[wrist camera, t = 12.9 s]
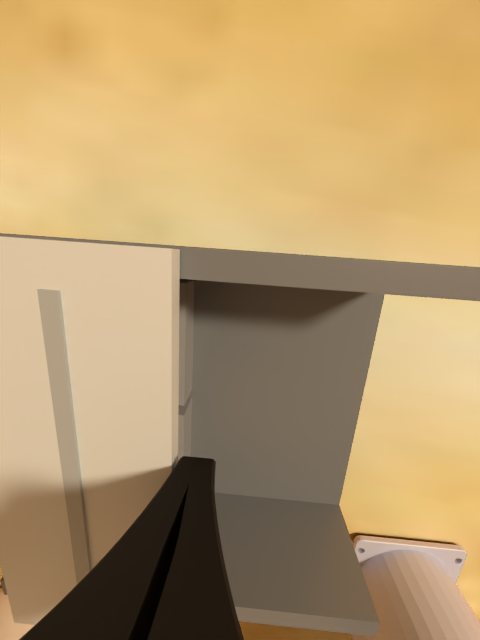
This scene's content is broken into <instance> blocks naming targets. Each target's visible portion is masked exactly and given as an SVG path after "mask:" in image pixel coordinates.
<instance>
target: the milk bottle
mask: <svg viewBox="0 0 480 640" xmlns="http://www.w3.org/2000/svg"><path fill="white" fill-rule="evenodd" d="M33 626H35V625H30V624H21V623H14V620H13V616H12V612H11V607H10V603H9V599H8V595H4V593H3V589H2V588H0V640H19V639H20V638H21V637H22V636H24V635H25V634H26V633H27V632H28V631H29V630H30V629H31V628H32V627H33Z"/></svg>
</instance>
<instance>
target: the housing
mask: <svg viewBox="0 0 480 640" xmlns="http://www.w3.org/2000/svg"><path fill="white" fill-rule="evenodd" d="M0 236H1V237H15V238H29V239H43V240H57V241H71V242H86V243H100V244H114V245H128V246H142V247H156V248H170V249H180V289H179V409H178V461H179V460H180V458H181V457H183V456H189V457H200V458H210V459H214V460H215V461H216V468H215V487H214V490H215V503H216V512H217V521H218V528H219V534H220V540H221V546H222V551H223V557H224V562H225V567H226V571H227V576H228V580H229V585H230V589H231V593H232V597H233V601H234V606H235V610H236V614H237V618H238V621H241V622H249V623H258V624H267V625H276V626H285V627H293V628H302V629H311V630H320V631H329V632H338V633H346V634H355V635H364V636H373V637H376V634H377V631H378V628H379V625H380V621H379V618H378V615H377V612H376V609H375V607H374V604H373V601H372V598H371V595H370V592H369V589H368V587H367V584H366V581H365V578H364V575H363V572H362V569H361V567H360V564H359V561H358V558H357V555H356V552H355V549H354V547H353V544H352V541H351V538H350V535H349V532H348V529H347V526H346V524H345V521H344V518H343V515H342V512H341V509H340V506H339V502H340V498H341V493H342V489H343V484H344V479H345V475H346V470H347V465H348V461H349V456H350V452H351V447H352V442H353V438H354V433H355V428H356V424H357V419H358V415H359V410H360V405H361V401H362V396H363V391H364V387H365V382H366V378H367V373H368V368H369V364H370V359H371V354H372V350H373V345H374V341H375V336H376V331H377V327H378V322H379V317H380V313H381V308H382V304H383V299H384V294H391V295H405V296H418V297H432V298H445V299H458V300H472V301H480V267H467V266H453V265H439V264H425V263H411V262H397V261H383V260H369V259H354V258H340V257H326V256H312V255H298V254H284V253H270V252H256V251H242V250H228V249H214V248H200V247H185V246H171V245H157V244H143V243H129V242H115V241H101V240H87V239H73V238H59V237H45V236H31V235H16V234H2V233H0ZM0 581H1V585H2V589H3V593H4V595H7V591H6V586H5V582H4V578H2V579H1V580H0Z"/></svg>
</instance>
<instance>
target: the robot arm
mask: <svg viewBox="0 0 480 640" xmlns="http://www.w3.org/2000/svg"><path fill="white" fill-rule="evenodd" d="M215 468H216V461H215V460H214V459H210V458H200V457H189V456H183V457H181V458H180V460H179V461H178V463H177V464H176V466H175V468H174V469H173V471H172V472H171V474H170V475H169V477H168V478H167V479H166V481H165V482H164V484H163V485H162V487H161V488H160V489H159V491H158V492H157V493H156V495H155V496H154V497H153V499H152V500H151V501H150V503H149V504H148V505H147V507H146V508H145V509H144V510H143V512H142V513H141V514H140V515H139V517H138V518H137V519H136V520H135V521H134V523H133V524H132V525H131V526H130V527H129V529H128V530H127V531H126V532H125V533H124V535H123V536H122V537H121V538H120V539H119V540H118V541H117V543H116V544H115V545H114V546H113V547H112V548H111V549H110V550H109V552H108V553H107V554H106V555H105V556H104V557H103V558H102V559H101V560H100V561H99V562H98V563H97V565H96V566H95V567H94V568H93V569H92V570H91V571H90V572H89V573H88V574H87V575H86V576H85V577H84V578H83V579H82V580H81V581H80V582H79V583H78V584H77V585H76V586H75V587H74V588H73V589H72V590H71V591H70V592H69V593H68V594H67V595H66V596H65V597H64V598H63V599H62V600H61V601H60V602H59V603H58V604H57V605H56V606H55V607H54V608H53V609H52V610H51V611H50V612H49V613H48V614H47V615H45V616H44V617H43V618H42V619H41V620H40V621H39V622H38V623H37V624H36V625H35V626H33V627H32V628H31V629H30V630H29V631H28V632H27V633H26V634H25V635H24V636H22V637H21V638H20V639H19V640H244V639H243V635H242V632H241V628H240V625H239V621H238V618H237V614H236V610H235V606H234V601H233V597H232V593H231V589H230V585H229V580H228V576H227V571H226V567H225V562H224V557H223V551H222V546H221V540H220V534H219V528H218V521H217V512H216V503H215V490H214V487H215ZM353 547H354V549H355V552H356V555H357V558H358V561H359V564H360V567H361V569H362V572H363V575H364V578H365V581H366V584H367V587H368V589H369V592H370V595H371V598H372V601H373V604H374V607H375V609H376V612H377V615H378V618H379V621H380V625H379V628H378V631H377V634H376V637H373V636H364V635H355V634H350V635H351V638H352V640H480V621H479V620H478V618H477V617H476V615H475V613H474V612H473V610H472V609H471V607H470V605H469V604H468V602H467V601H466V599H465V597H464V596H463V594H462V593H461V591H460V589H459V588H458V586H457V585H456V582H457V579H458V577H459V574H460V572H461V569H462V567H463V564H464V562H465V560H466V557H467V553H466V551H465V550H464V548H463V547H462V546H459V545H452V544H442V543H432V542H423V541H413V540H403V539H393V538H383V537H374V536H364V535H358V536H356V537H355V538H354V540H353Z"/></svg>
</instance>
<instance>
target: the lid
mask: <svg viewBox="0 0 480 640" xmlns="http://www.w3.org/2000/svg"><path fill="white" fill-rule="evenodd" d="M179 289H180V249H170V248H156V247H142V246H128V245H114V244H100V243H86V242H71V241H57V240H43V239H29V238H15V237H1V236H0V565H1V570H2V574H3V578H4V582H5V586H6V591H7V595H8V599H9V603H10V607H11V612H12V616H13V620H14V623H21V624H30V625H36V624H37V623H38V622H39V621H40V620H41V619H42V618H43V617H44V616H45V615H47V614H48V613H49V612H50V611H51V610H52V609H53V608H54V607H55V606H56V605H57V604H58V603H59V602H60V601H61V600H62V599H63V598H64V597H65V596H66V595H67V594H68V593H69V592H70V591H71V590H72V589H73V588H74V587H75V586H76V585H77V584H78V583H79V582H80V581H81V580H82V579H83V578H84V577H85V576H86V575H87V574H88V573H89V572H90V571H91V570H92V569H93V568H94V567H95V566H96V565H97V563H98V562H99V561H100V560H101V559H102V558H103V557H104V556H105V555H106V554H107V553H108V552H109V550H110V549H111V548H112V547H113V546H114V545H115V544H116V543H117V541H118V540H119V539H120V538H121V537H122V536H123V535H124V533H125V532H126V531H127V530H128V529H129V527H130V526H131V525H132V524H133V523H134V521H135V520H136V519H137V518H138V517H139V515H140V514H141V513H142V512H143V510H144V509H145V508H146V507H147V505H148V504H149V503H150V501H151V500H152V499H153V497H154V496H155V495H156V493H157V492H158V491H159V489H160V488H161V487H162V485H163V484H164V482H165V481H166V479H167V478H168V477H169V475H170V474H171V472H172V471H173V469H174V468H175V466H176V464H177V463H178V409H179Z"/></svg>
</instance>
